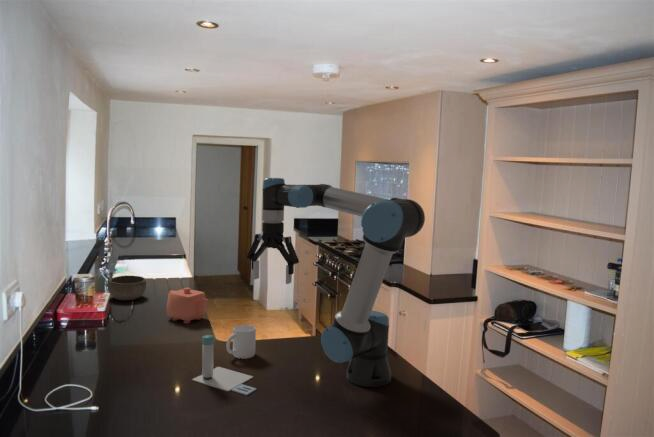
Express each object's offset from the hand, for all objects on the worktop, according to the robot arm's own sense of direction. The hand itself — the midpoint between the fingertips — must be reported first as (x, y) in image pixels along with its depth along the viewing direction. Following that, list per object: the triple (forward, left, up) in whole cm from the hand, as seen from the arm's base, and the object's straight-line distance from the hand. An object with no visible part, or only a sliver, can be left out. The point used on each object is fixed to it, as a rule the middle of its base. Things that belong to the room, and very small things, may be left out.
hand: (272, 281), depth 188 cm
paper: (+4, +22, -30) cm, 37 cm away
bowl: (+106, -27, -30) cm, 113 cm away
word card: (-7, +25, -30) cm, 39 cm away
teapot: (+58, -19, -30) cm, 68 cm away
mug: (+12, +3, -30) cm, 32 cm away
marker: (+8, +24, -29) cm, 39 cm away
